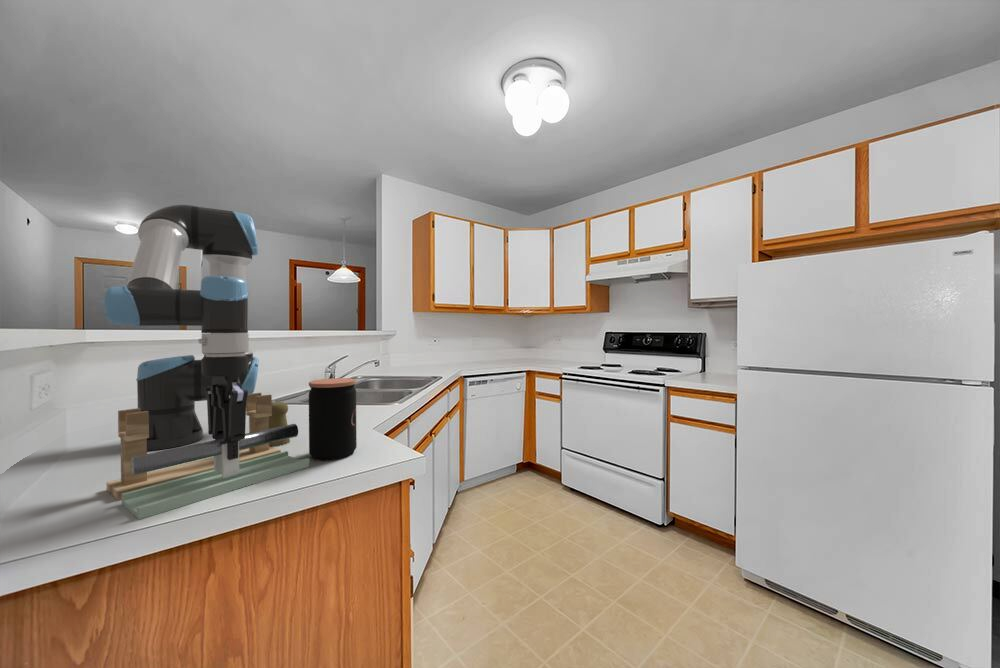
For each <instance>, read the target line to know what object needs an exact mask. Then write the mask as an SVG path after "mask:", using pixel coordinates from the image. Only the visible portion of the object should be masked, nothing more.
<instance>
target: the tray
mask: <svg viewBox="0 0 1000 668" xmlns="http://www.w3.org/2000/svg"><path fill="white" fill-rule="evenodd" d="M307 468H310V458H308V457H305V458H302V459H299V458H296V457H292V456H290V455H289V450H284V451H281V452H280V453H276V454H272V455H268V456H264V457H260V458H257V459H253V460H249V461H245V462H241V463H239V473H238V474H235V475H231V476H228V477H224V478H223V477H222V472H220V473H216V474H215V473H214V470H211V471H207V472H203V473H199V474H195V475H192V476H188V477H184V478H180V479H176V480H172V481H169V482H165V483H161V484H157V485H153V486H149V487H146V488H142V489H138V490H134V491H130V492H127V493H123V494H122V500H121V505H122V506H123V507H124V508H126V509H127V510H128V511H129V512H130V513H131V514H132V515H133V516H134V517H136V519H138V520H139V521H140V520H143V519H146V518H149V517H153V516H155V515H158V514H162V513H164V512H168V511H172V510H175V509H177V508H181V507H184V506H189V505H191V504H194V503H196V502H197V503H198V502H201V501H203V500H207V499H209V498H213V497H216V496H219V495H222V494H226V493H229V492H233V491H236V490H238V488H239V489H242V488H245V486H246V487H249V486H251V484H252V485H254V484H255V485H256V484H257V483H261V482H264V481H268V480H271V479H274V478H277V477H281V476H284V475H288V474H290V473H293V472H297V471H300V470H303V469H307ZM248 485H249V486H248ZM241 487H242V488H241ZM232 490H233V491H232Z"/></svg>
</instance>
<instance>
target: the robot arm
mask: <svg viewBox="0 0 1000 668" xmlns="http://www.w3.org/2000/svg"><path fill="white" fill-rule="evenodd" d="M137 236H138V239H139V241H140V243H139V246H138V248H137V249H138V250H137V252H136V256H135V258H134V261H133V264H132V267H131V270H130V273H129V277H128V279H127V281H126V282H127V283H126V285H121V286H111V287H108V288H106V290H105V292H104V295H103V311H104V315H105V318H106V320H107V321H108V322H109V323H110V324H112V325H116V326H118V325H119V326H134V327H139V326H143V327H144V326H145V327H148V326H149V327H150V326H151V327H152V326H158V327H159V326H162V327H163V326H164V327H165V326H185V327H186V326H188V327H190V326H194V327H195V326H196V327H197V326H201V331H200V332H201V338H199V339H198V340H197V341H198V344H200V345H201V353H202V354H203V357H202V358H201V359H196V357H195V356H194V355H193V354H188V355H178V356H171V357H164V358H158V359H151V360H150V359H149V360H146V361H142V362H141V363H139V365H138V367H137V375H136V377H137V378H136V380H135V381H136V383H137V408H140V409H141V412H143V411H149V438H147V451H157V450H163V449H165V450H166V449H173V448H175V447H176V448H178V447H183V446H187V445H191V444H192V443H195V442H198V441H200V440H202V439H203V437H204V429H203V427H202V426H203V425H202V424H201V422H200V420H199V418H198V415H197V413H196V405H195V404H196V402H203V401H206V407H207V408H206V409H207V425H208V426H207V429H208V435H210V436H211V437H212V439H213V440H218V439H223V438H224V441H221V442H220V445H222V454H221V455H217V456H213V457H214V473H215V474H216V473H220V472H222V477H223V478H224V477H228V476H231V475H235V474H238V473H239V451H240V450H239V441H240V440H242V439H245V434H246V424H247V423H246V422H247V421H246V419H247V415H246V400H247V396H248V394H253V393H255V388H256V385H257V379H258V374H259V373H258V372H259V364H260V363H259V358H258V357H256V356H254V352H253V351H252V350H251V349H250V348H249V342H250V341H249V329H248V328H249V325H248V323H249V321H248V319H249V292H248V283H247V266H248V265H249V264H251V263H252V261H253V256H257V255H258V254H259V249H258V248H259V247H258V238H257V232H256V228H255V222H254V220H253V218H252V216H251V215H249V214H247V213H241V212H237V211H233V210H225V209H218V208H212V207H211V208H210V207H202V206H196V205H190V204H176V205H175V204H174V205H168V206H165V207H162V208H159V209H157V210H155V211H153V212H151V213H150V214H148V215H147V216H146V217H145V218H143V219H142V221H141V223H140V224H139V227H138V229H137ZM186 249H193V250H200V251H202V257H203V258H204V259H205V260H206V261H207V262H208V263H209V275H208V276H204V277H202V279H201V281H200V290H196V289H195V290H193V289H183V288H182V289H181V288H180V289H179V288H178V289H177V283H178V282H177V281H178V276H179V270H180V264H181V258H182V252H183V251H184V250H186Z"/></svg>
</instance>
